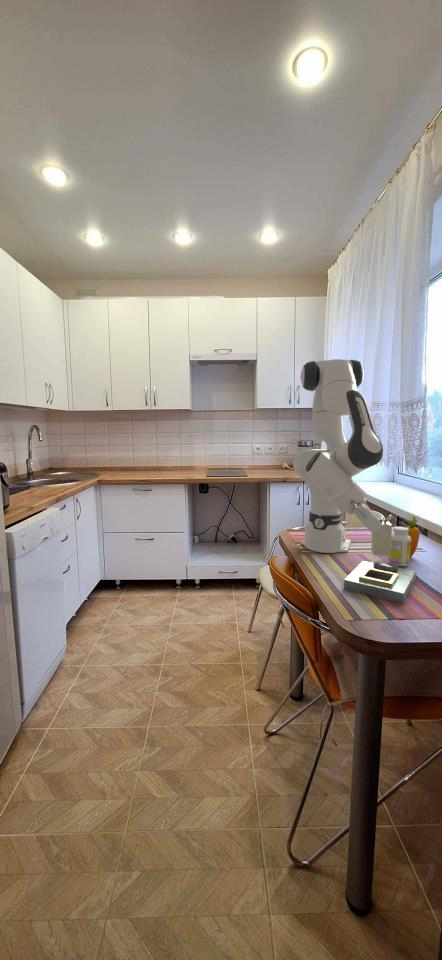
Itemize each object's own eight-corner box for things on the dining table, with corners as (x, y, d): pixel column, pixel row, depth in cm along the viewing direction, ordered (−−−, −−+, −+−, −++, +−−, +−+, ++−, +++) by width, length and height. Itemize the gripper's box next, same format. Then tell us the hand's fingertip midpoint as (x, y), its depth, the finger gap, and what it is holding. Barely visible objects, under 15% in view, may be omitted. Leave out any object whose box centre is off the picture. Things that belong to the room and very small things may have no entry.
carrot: (409, 559, 137) (412, 519, 135) (399, 555, 142) (402, 516, 140) (420, 558, 139) (423, 518, 137) (410, 554, 143) (413, 515, 141)
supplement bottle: (405, 560, 136) (407, 525, 135) (412, 567, 130) (415, 530, 128) (385, 560, 137) (388, 525, 135) (392, 566, 131) (394, 530, 129)
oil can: (371, 550, 114) (373, 512, 112) (389, 551, 113) (392, 512, 111) (373, 554, 110) (376, 515, 108) (393, 556, 109) (395, 516, 107)
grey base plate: (364, 567, 130) (365, 554, 129) (416, 577, 121) (417, 564, 120) (343, 589, 112) (344, 574, 111) (403, 603, 103) (404, 588, 102)
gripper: (363, 497, 101) (401, 536, 100) (354, 486, 120) (385, 518, 119) (345, 513, 102) (382, 551, 101) (338, 500, 122) (369, 531, 121)
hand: (383, 533), depth 110 cm, fingers closed on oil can, 4 cm apart
